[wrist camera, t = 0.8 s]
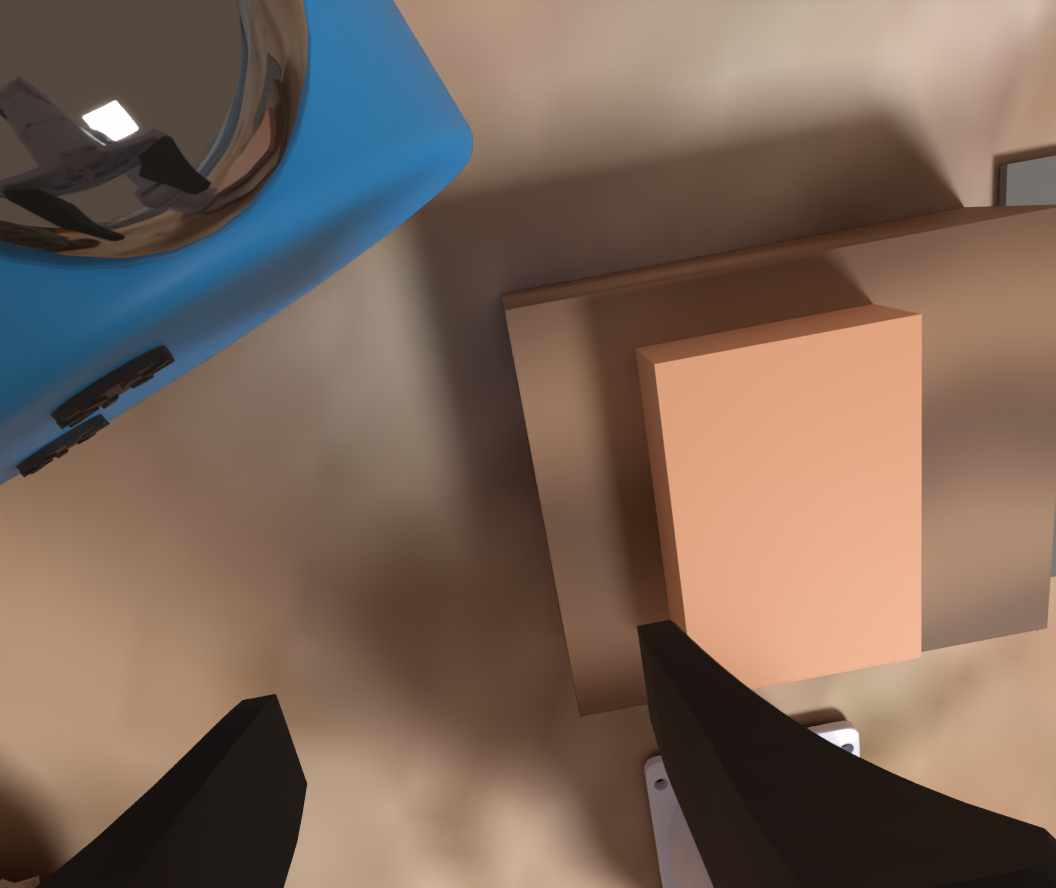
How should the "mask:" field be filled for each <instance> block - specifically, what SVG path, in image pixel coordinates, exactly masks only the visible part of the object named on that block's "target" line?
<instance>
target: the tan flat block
mask: <svg viewBox="0 0 1056 888" xmlns="http://www.w3.org/2000/svg"><path fill="white" fill-rule="evenodd" d="M501 297H502V303H503V308H504V313H505V319H506V324H507V330H508V335H509V340H510V346H511V351H512V356H513V362H514V367H515V373H516V378H517V383H518V389H519V394H520V399H521V405H522V410H523V416H524V421H525V426H526V432H527V437H528V442H529V448H530V453H531V459H532V464H533V469H534V475H535V480H536V485H537V491H538V496H539V502H540V507H541V512H542V518H543V523H544V528H545V534H546V539H547V545H548V550H549V555H550V561H551V566H552V571H553V577H554V582H555V588H556V593H557V598H558V604H559V609H560V614H561V620H562V625H563V631H564V636H565V641H566V646H567V651H568V656H569V662H570V667H571V672H572V677H573V682H574V687H575V692H576V697H577V702H578V708H579V713H580V716H585V715H591V714H596V713H601V712H607V711H612V710H617V709H622V708H628V707H633V706H638V705H644V704H648V699H647V692H646V685H645V679H644V672H643V665H642V658H641V651H640V645H639V638H638V631H637V626H639V625H644V624H649V623H655V622H660V621H665V620H670V613H669V605H668V597H667V589H666V582H665V574H664V566H663V558H662V551H661V543H660V535H659V528H658V520H657V512H656V504H655V497H654V489H653V481H652V473H651V466H650V458H649V450H648V443H647V435H646V427H645V419H644V412H643V404H642V396H641V388H640V381H639V373H638V365H637V358H636V350H635V348H641V347H646V346H651V345H657V344H662V343H667V342H673V341H678V340H683V339H689V338H694V337H699V336H705V335H710V334H715V333H721V332H726V331H731V330H737V329H742V328H747V327H753V326H758V325H763V324H769V323H774V322H779V321H785V320H790V319H795V318H801V317H806V316H811V315H817V314H822V313H827V312H833V311H838V310H843V309H849V308H854V307H859V306H865V305H870V304H876V305H881V306H886V307H890V308H895V309H900V310H905V311H910V312H914V313H919V314H922V548H921V652H923V651H928V650H934V649H939V648H944V647H950V646H955V645H960V644H965V643H971V642H976V641H981V640H986V639H992V638H997V637H1002V636H1008V635H1013V634H1018V633H1023V632H1029V631H1034V630H1039V629H1045V628H1047V620H1048V605H1049V590H1050V575H1051V560H1052V545H1053V530H1054V515H1055V500H1056V204H1054V205H1022V206H990V207H965V208H959V209H954V210H948V211H943V212H938V213H932V214H927V215H922V216H916V217H911V218H906V219H900V220H895V221H890V222H884V223H879V224H874V225H868V226H863V227H858V228H852V229H847V230H841V231H836V232H831V233H825V234H820V235H815V236H809V237H804V238H799V239H793V240H788V241H783V242H777V243H772V244H767V245H761V246H756V247H751V248H745V249H740V250H734V251H729V252H724V253H718V254H713V255H708V256H702V257H697V258H692V259H686V260H681V261H676V262H670V263H665V264H660V265H654V266H649V267H643V268H638V269H633V270H627V271H622V272H617V273H611V274H606V275H601V276H595V277H590V278H585V279H579V280H574V281H569V282H563V283H558V284H553V285H547V286H542V287H536V288H531V289H526V290H520V291H515V292H510V293H504V294H501Z"/></svg>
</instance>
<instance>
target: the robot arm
mask: <svg viewBox="0 0 1056 888" xmlns="http://www.w3.org/2000/svg"><path fill="white" fill-rule="evenodd" d="M637 631H638V638H639V645H640V651H641V658H642V665H643V672H644V679H645V685H646V692H647V699H648V706H649V713H650V719H651V723H652V726H653V730H654V733H655V737H656V740H657V744H658V747H659V751H660V754H661V755H660V756H655V757H652V758H650V759H649V760H648V761H647V762H646V763H645V765H644V772H645V779H646V785H647V792H648V798H649V805H650V811H651V817H652V824H653V830H654V837H655V843H656V850H657V856H658V863H659V869H660V875H661V882H662V888H1056V839H1055V838H1054V837H1053V836H1052V835H1051V834H1050V833H1049V832H1048V831H1047V830H1046V829H1044V828H1041V827H1038V826H1035V825H1032V824H1029V823H1026V822H1023V821H1020V820H1017V819H1014V818H1011V817H1007V816H1004V815H1001V814H998V813H995V812H992V811H989V810H986V809H983V808H980V807H977V806H974V805H971V804H968V803H965V802H962V801H959V800H957V799H954V798H952V797H949V796H947V795H944V794H942V793H939V792H936V791H934V790H931V789H929V788H926V787H924V786H921V785H919V784H916V783H914V782H912V781H909V780H907V779H905V778H903V777H900V776H898V775H896V774H893V773H891V772H889V771H887V770H885V769H883V768H881V767H879V766H876V765H874V764H872V763H870V762H868V761H866V760H864V759H862V758H860V747H859V733H858V730H857V729H856V728H855V726H854V725H853V724H852V723H851V722H848V721H839V722H834V723H828V724H823V725H818V726H813V727H807V728H806V727H804V726H803V725H801V724H799V723H798V722H796V721H795V720H793V719H792V718H790V717H789V716H787V715H786V714H784V713H783V712H781V711H780V710H778V709H777V708H776V707H774V706H773V705H771V704H770V703H769V702H767V701H766V700H764V699H763V698H762V697H760V696H759V695H758V694H756V693H755V692H754V691H752V690H751V689H750V688H748V687H747V686H746V685H745V684H743V683H742V682H741V681H740V680H738V679H737V678H736V677H735V676H734V675H732V674H731V673H730V672H729V671H727V670H726V669H725V668H724V667H722V666H721V665H720V664H719V663H718V662H717V661H715V660H714V659H713V658H712V657H711V656H710V655H709V654H708V653H706V652H705V651H704V650H703V649H702V648H701V647H700V646H699V645H698V644H697V643H696V642H694V641H693V640H692V639H691V638H690V637H689V636H688V635H687V634H686V633H685V632H684V631H683V630H682V629H681V628H680V627H679V626H678V625H677V624H676V623H674V622H673V621H671V620H665V621H660V622H655V623H649V624H644V625H639V626H637ZM844 744H847V745H846V746H844V747H842V746H843V745H844ZM659 779H664V780H663V781H661V782H656V781H657V780H659ZM306 788H307V782H306V779H305V776H304V773H303V770H302V767H301V765H300V762H299V759H298V756H297V753H296V750H295V747H294V744H293V741H292V739H291V736H290V733H289V730H288V727H287V724H286V721H285V718H284V716H283V713H282V710H281V707H280V704H279V701H278V698H277V695H276V694H273V695H268V696H262V697H257V698H252V699H246V700H242V701H241V702H240V703H239V704H238V705H237V706H235V707H234V708H233V709H232V710H231V711H230V712H229V713H228V714H227V715H225V716H224V717H223V718H222V719H221V720H220V721H219V722H218V723H217V724H216V725H215V726H214V727H213V728H212V729H211V730H210V731H209V732H208V733H207V734H206V735H205V736H204V737H203V738H202V739H201V740H200V741H199V742H198V743H197V744H196V745H195V746H194V747H193V748H192V749H191V750H190V751H189V752H188V753H187V754H186V755H185V756H183V757H182V758H181V759H180V760H179V761H178V762H177V763H176V764H175V765H174V766H173V767H172V768H171V769H170V770H169V771H168V772H167V773H166V774H165V775H164V776H163V777H162V778H161V779H160V780H159V781H158V782H157V783H156V784H155V785H154V786H153V787H152V788H151V789H149V790H148V791H147V792H146V793H145V794H144V795H143V796H142V797H141V798H140V799H138V800H137V801H136V802H135V803H134V804H133V805H132V806H131V807H130V808H129V809H127V810H126V811H125V812H124V813H123V814H122V815H121V816H120V817H119V818H118V819H117V820H115V821H114V822H113V823H112V824H111V825H110V826H109V827H108V828H107V829H106V830H104V831H103V832H102V833H101V834H100V835H99V836H98V837H97V838H95V839H94V840H93V841H92V842H91V843H90V844H88V845H87V846H86V847H85V848H84V849H82V850H81V851H80V852H79V853H78V854H76V855H75V856H74V857H73V858H72V859H70V860H69V861H68V862H67V863H65V864H64V865H63V866H62V867H60V868H59V869H58V870H57V871H55V872H54V873H53V874H52V875H50V876H49V877H48V878H46V879H45V880H44V881H43V882H41V883H40V884H39V885H38V886H36V887H35V888H284V884H285V881H286V878H287V875H288V871H289V868H290V865H291V861H292V858H293V855H294V851H295V848H296V844H297V840H298V835H299V830H300V824H301V819H302V814H303V807H304V801H305V794H306Z"/></svg>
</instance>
